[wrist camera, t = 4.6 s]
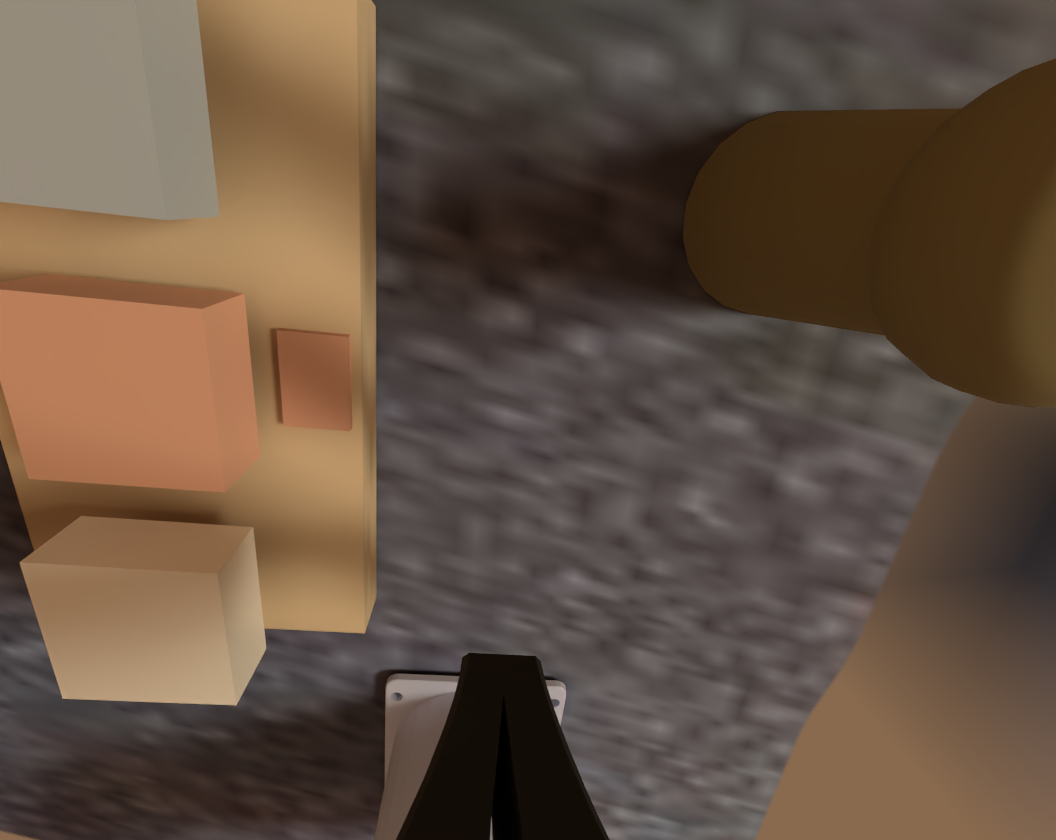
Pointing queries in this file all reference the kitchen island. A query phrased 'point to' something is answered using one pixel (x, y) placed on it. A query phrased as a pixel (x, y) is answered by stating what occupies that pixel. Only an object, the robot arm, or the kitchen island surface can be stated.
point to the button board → (260, 301)
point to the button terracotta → (128, 382)
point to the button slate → (105, 108)
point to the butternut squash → (898, 231)
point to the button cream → (149, 610)
